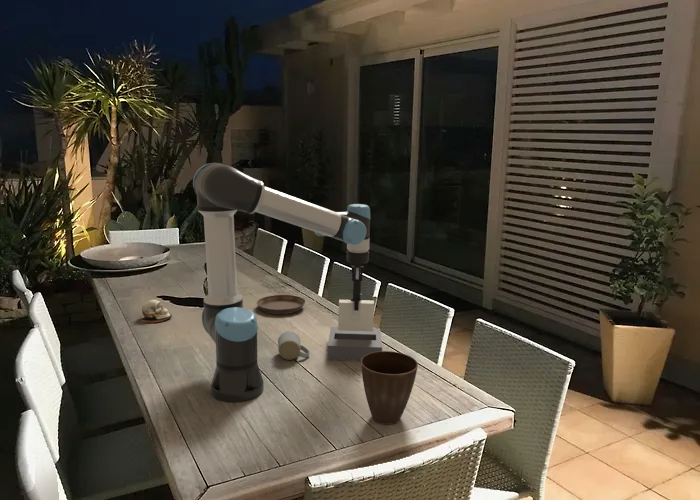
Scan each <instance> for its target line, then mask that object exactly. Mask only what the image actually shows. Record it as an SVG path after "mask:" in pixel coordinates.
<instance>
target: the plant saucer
mask: <svg viewBox="0 0 700 500" xmlns="http://www.w3.org/2000/svg"><path fill="white" fill-rule="evenodd" d="M305 304H306V300H305V299H304V298H303V297H301V296H297V295H292V294H291V295H290V294H276V295H274V294H273V295H268V296H264V297H262V298H259V299H258V300H257V301H256V305H257V306H258V307H259V309H260V310H262V311H263V312H264V313H268V314H271V315H288V313H289V314H292V313H293V312H294V313H296V312H298V311H300V310H301V309H302V308H303V307H304V305H305ZM294 313H293V314H294Z"/></svg>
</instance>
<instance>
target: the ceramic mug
mask: <svg viewBox="0 0 700 500" xmlns="http://www.w3.org/2000/svg"><path fill="white" fill-rule="evenodd" d="M277 348H278V349H277V350H278V354H279V355H280V357H281V358H282V359H284V360H287V361H293V360H295V359H296V358H298V357H301V358H308V357H309V356H310V354H311V353H310V350H309V349H308V348H307V347H306V346H303V345H302V344H301V338H300V337H299V335H298V334H297V333H296V332H294V331H290V330H288V331H284V332H282V333H281V334H280V335H279V336H278V339H277ZM301 351H302V352H301Z"/></svg>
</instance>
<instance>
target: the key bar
mask: <svg viewBox="0 0 700 500" xmlns="http://www.w3.org/2000/svg"><path fill="white" fill-rule="evenodd" d="M352 304H353V301H351V299H339V300H338V321H337V322H338V323H337V324H338V326H337V327H338V330H340V331H373V328H374V318H375V317H374V315H375V301H374V300H368V299H366V300H365V299H364V300H363V299H361V303H360V319H352Z"/></svg>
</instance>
